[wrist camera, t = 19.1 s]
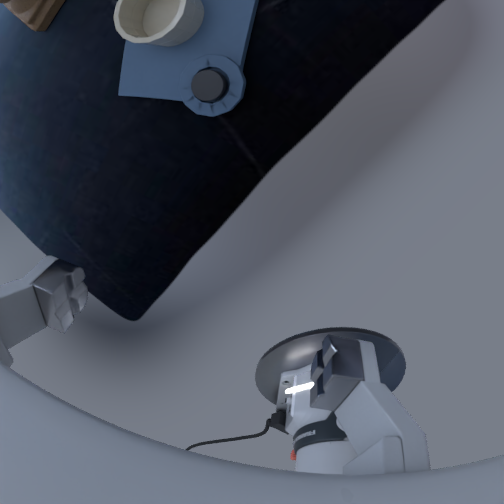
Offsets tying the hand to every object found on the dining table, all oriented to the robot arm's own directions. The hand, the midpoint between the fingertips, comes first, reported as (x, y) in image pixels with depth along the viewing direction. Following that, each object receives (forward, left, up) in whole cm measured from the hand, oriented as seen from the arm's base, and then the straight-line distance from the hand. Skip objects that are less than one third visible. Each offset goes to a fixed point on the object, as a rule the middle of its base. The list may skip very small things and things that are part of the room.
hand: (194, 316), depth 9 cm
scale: (+10, +10, -23) cm, 27 cm away
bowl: (+12, +11, -21) cm, 27 cm away
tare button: (+5, +6, -20) cm, 22 cm away
